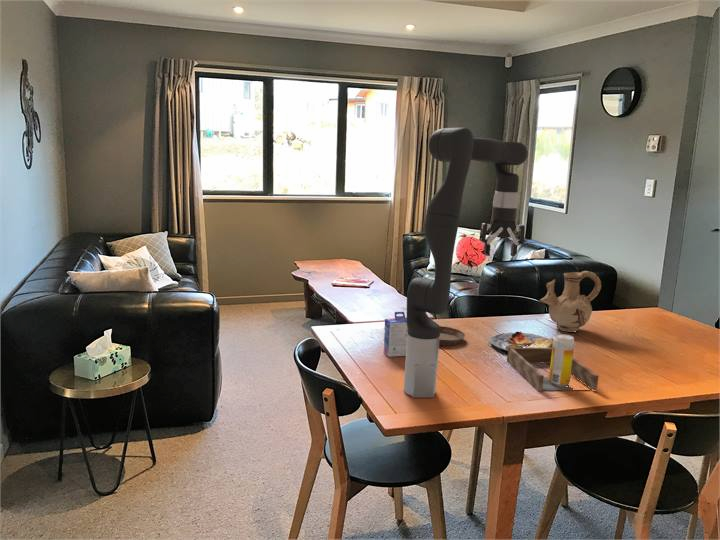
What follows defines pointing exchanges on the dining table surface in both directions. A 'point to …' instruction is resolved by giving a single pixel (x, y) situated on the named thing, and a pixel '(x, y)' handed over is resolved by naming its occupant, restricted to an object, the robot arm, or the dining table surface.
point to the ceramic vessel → (571, 301)
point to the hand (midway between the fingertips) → (500, 255)
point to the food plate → (521, 341)
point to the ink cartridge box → (395, 336)
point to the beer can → (561, 360)
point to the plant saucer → (450, 336)
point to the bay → (525, 356)
